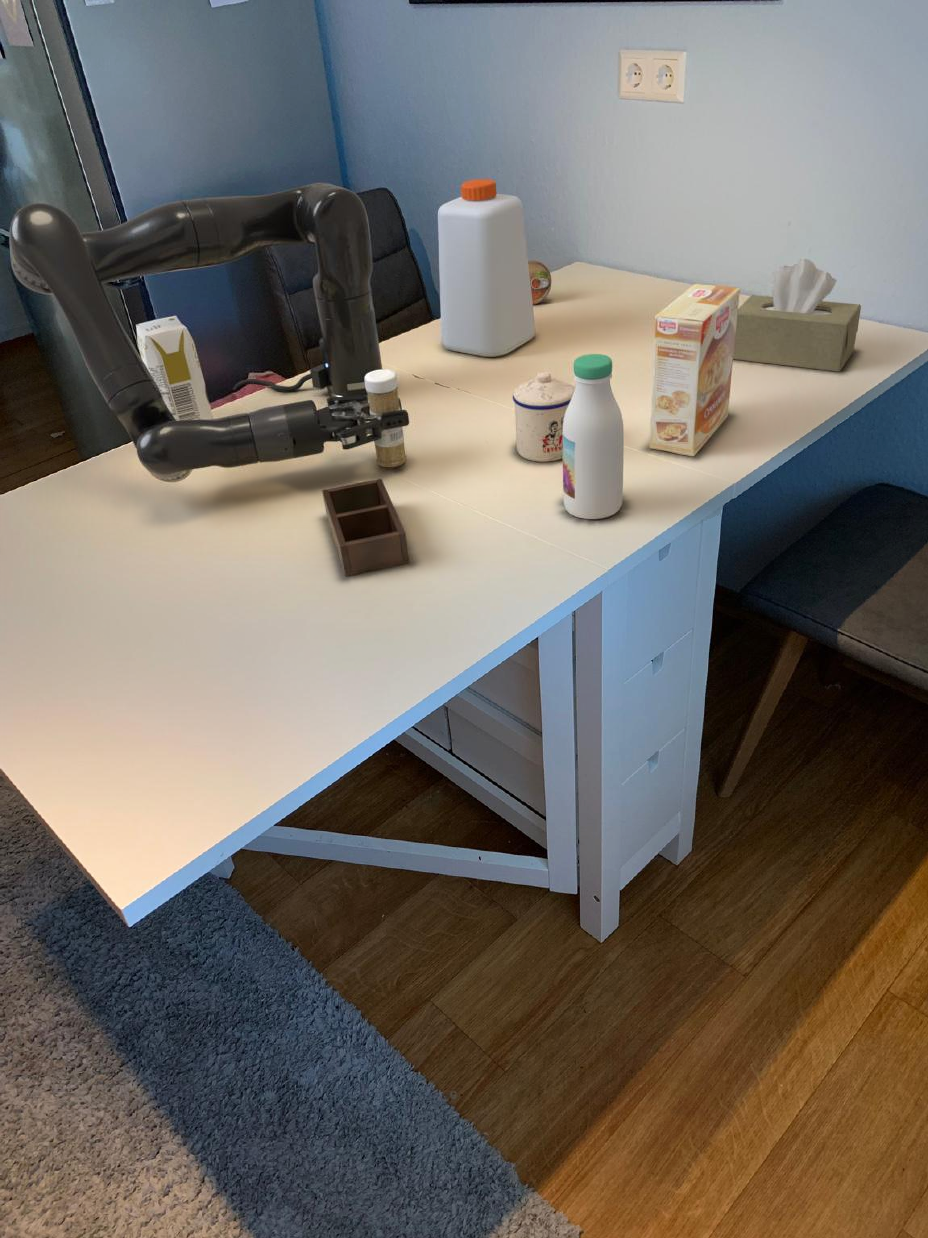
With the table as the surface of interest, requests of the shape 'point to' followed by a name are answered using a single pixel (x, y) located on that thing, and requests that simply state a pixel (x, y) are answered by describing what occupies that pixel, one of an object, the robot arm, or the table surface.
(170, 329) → the juice carton
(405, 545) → the holder
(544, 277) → the tin
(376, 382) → the sprinkles bottle
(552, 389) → the teacup with lid
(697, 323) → the coffeecake box
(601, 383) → the milk bottle
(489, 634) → the table surface
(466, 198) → the plastic bottle
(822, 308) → the tissue box
